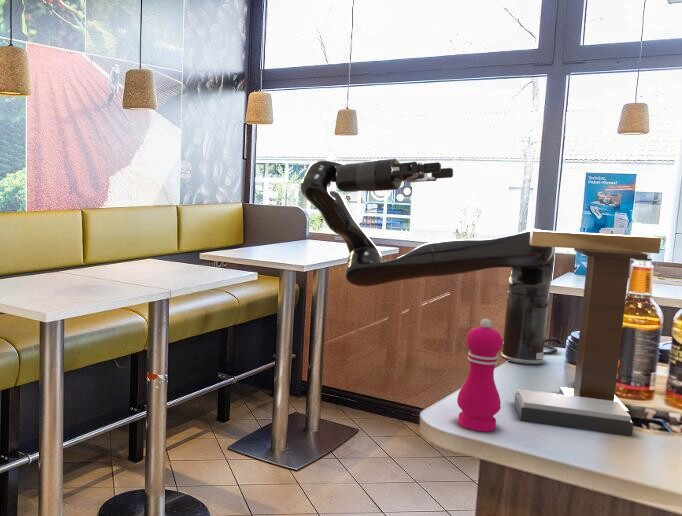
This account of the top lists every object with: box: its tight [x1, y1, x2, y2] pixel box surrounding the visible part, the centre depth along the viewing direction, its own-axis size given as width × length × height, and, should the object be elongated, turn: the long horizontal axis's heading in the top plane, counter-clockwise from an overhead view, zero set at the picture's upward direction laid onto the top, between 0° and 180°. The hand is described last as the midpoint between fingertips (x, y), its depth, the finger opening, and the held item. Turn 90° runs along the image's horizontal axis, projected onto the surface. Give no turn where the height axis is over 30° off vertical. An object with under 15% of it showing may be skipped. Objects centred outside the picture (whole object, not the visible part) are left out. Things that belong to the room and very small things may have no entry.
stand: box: [558, 248, 649, 415], centre depth 140 cm, size 12×10×32 cm
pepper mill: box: [456, 318, 503, 433], centre depth 127 cm, size 7×7×20 cm
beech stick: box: [529, 229, 662, 254], centre depth 139 cm, size 3×22×3 cm, turn 69°
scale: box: [513, 388, 634, 437], centre depth 133 cm, size 10×18×4 cm, turn 69°
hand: (446, 169), depth 160 cm, fingers open, 8 cm apart
